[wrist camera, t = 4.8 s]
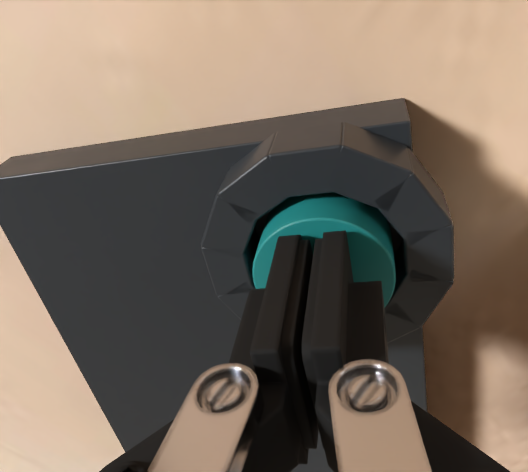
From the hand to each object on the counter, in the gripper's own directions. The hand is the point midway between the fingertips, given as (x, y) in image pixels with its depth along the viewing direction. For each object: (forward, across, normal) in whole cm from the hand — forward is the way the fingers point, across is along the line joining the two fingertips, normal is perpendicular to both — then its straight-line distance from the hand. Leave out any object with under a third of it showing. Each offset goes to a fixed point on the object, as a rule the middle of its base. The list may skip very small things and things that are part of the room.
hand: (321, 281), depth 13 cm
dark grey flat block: (+4, +4, +5) cm, 8 cm away
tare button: (+2, 0, 0) cm, 2 cm away
